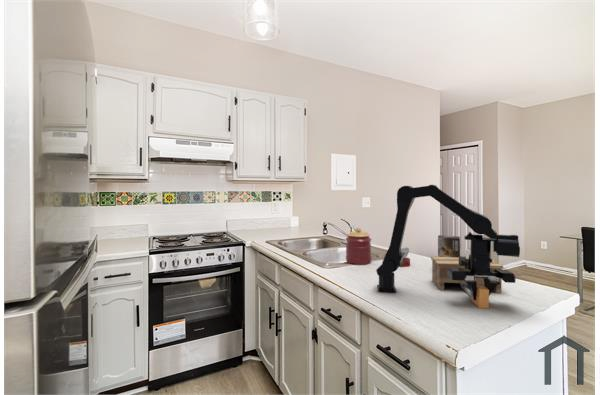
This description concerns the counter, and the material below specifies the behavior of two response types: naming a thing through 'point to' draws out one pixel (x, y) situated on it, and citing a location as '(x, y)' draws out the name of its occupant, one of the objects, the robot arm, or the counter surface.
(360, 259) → the canister
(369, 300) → the counter surface
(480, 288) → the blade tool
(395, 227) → the robot arm
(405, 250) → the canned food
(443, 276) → the cabinet
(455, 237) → the coffee box
